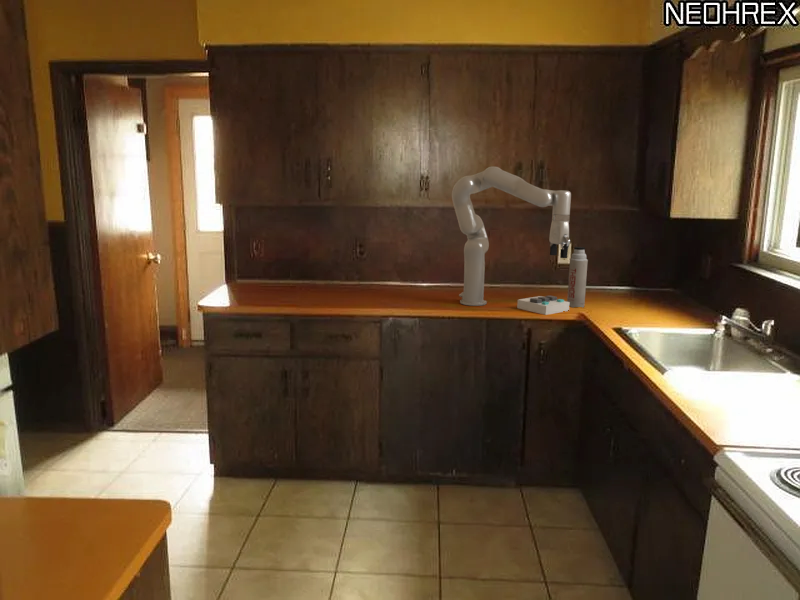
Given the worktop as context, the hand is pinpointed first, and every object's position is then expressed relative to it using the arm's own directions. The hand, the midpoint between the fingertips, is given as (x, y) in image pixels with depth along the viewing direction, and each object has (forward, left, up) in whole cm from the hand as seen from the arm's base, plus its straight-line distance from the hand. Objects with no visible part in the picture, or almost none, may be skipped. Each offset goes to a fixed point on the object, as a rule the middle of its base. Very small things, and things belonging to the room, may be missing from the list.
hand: (558, 256), depth 298 cm
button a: (-4, -9, -23) cm, 25 cm away
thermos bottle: (-1, +15, -25) cm, 29 cm away
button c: (-4, +1, -23) cm, 23 cm away
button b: (-4, -4, -23) cm, 23 cm away
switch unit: (-4, -4, -25) cm, 25 cm away
